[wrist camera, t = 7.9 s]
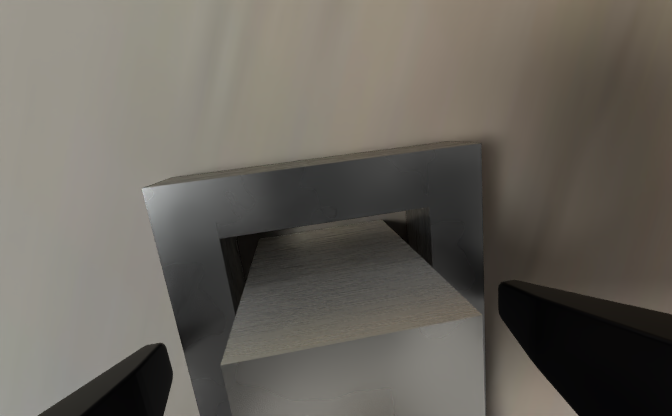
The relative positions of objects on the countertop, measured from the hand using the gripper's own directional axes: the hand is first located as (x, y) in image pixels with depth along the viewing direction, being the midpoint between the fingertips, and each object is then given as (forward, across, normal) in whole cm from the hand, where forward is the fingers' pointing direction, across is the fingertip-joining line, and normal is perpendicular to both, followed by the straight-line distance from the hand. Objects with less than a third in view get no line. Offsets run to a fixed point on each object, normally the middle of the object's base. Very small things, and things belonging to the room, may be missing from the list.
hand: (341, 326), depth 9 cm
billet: (+2, 0, 0) cm, 2 cm away
